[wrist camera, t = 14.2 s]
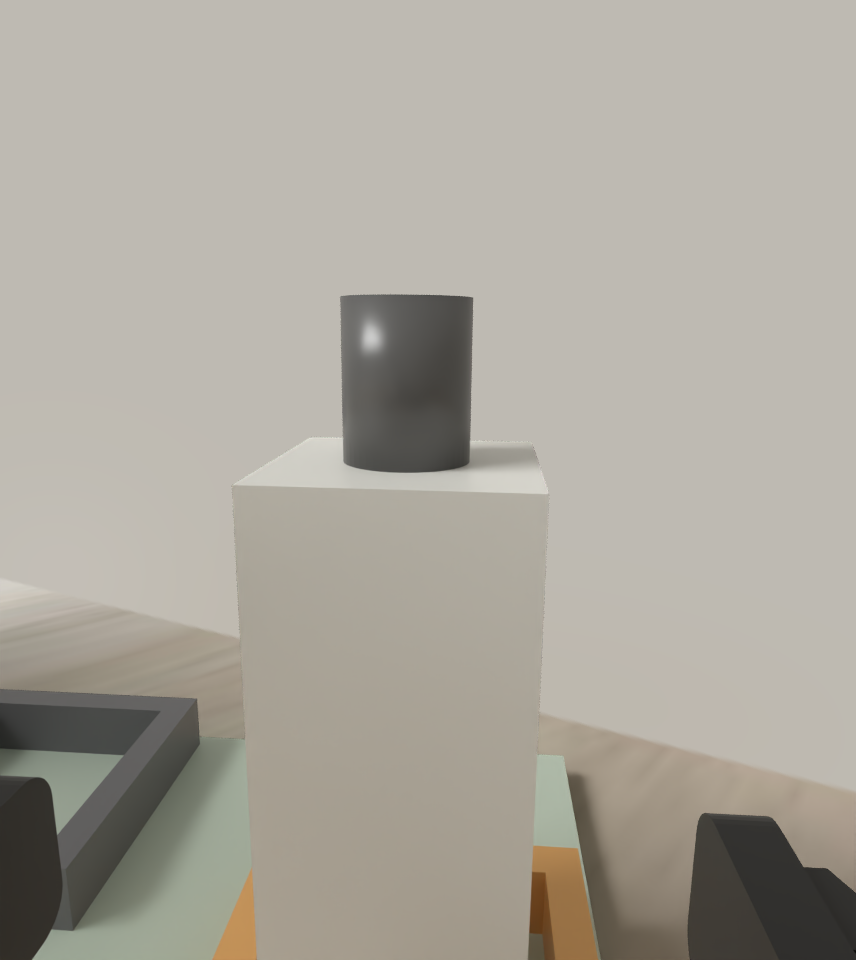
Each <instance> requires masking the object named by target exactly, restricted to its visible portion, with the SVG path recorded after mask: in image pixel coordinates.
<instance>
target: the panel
mask: <svg viewBox="0 0 856 960" xmlns="http://www.w3.org/2000/svg"><path fill="white" fill-rule="evenodd" d="M0 775H3V776H23V777H41V778H43V779H45V780H46V781H47V782H48V784H49V785H50V788H51V791H52V797H53V805H54V813H55V822H56V830H57V838H58V847H59V855H60V863H61V872H62V881H63V888H62V898H61V903H60V907H59V911H58V914H57V917H56V920H55V923H54V925H53V927H52V930H51V932H50V933H49V935H48V937H47V939H46V940H45V942H44V944H43V945H42V946H41V948H40V949H39V951H38V952H37V953H36V955H35V956H34V958H33V959H32V960H257V953H256V934H255V915H254V896H253V877H252V858H251V839H250V820H249V801H248V782H247V763H246V744H245V739H234V738H215V737H199V722H198V708H197V699H192V698H171V697H151V696H130V695H109V694H88V693H68V692H47V691H26V690H5V689H0ZM528 960H601V956H600V951H599V946H598V940H597V935H596V929H595V924H594V919H593V913H592V908H591V903H590V897H589V892H588V886H587V881H586V876H585V870H584V865H583V859H582V854H581V849H580V843H579V838H578V833H577V827H576V822H575V816H574V811H573V806H572V800H571V795H570V789H569V784H568V779H567V773H566V768H565V763H564V757H563V756H559V755H540V754H537V772H536V794H535V815H534V837H533V859H532V881H531V902H530V924H529V946H528Z"/></svg>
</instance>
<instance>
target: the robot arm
mask: <svg viewBox="0 0 856 960" xmlns="http://www.w3.org/2000/svg"><path fill="white" fill-rule="evenodd" d="M62 888H63V881H62V872H61V863H60V855H59V847H58V838H57V830H56V822H55V813H54V805H53V797H52V791H51V788H50V785H49V784H48V782H47V781H46V780H45V779H43V778H41V777H23V776H3V775H0V960H32V959H33V958H34V956H35V955H36V953H37V952H38V951H39V949H40V948H41V946H42V945H43V944H44V942H45V940H46V939H47V937H48V935H49V933H50V932H51V930H52V927H53V925H54V923H55V920H56V917H57V914H58V911H59V907H60V903H61V898H62ZM688 946H689V956H690V960H856V893H855V892H854V891H853V890H852V889H850V888H849V887H848V886H847V885H846V884H845V883H843V882H842V881H841V880H840V879H839V878H838V877H836V876H835V875H834V874H833V873H832V872H831V871H829V870H828V869H826V868H808V867H803V866H802V864H801V862H800V861H799V859H798V857H797V856H796V854H795V853H794V851H793V849H792V848H791V846H790V844H789V843H788V841H787V839H786V838H785V836H784V834H783V833H782V831H781V829H780V828H779V826H778V825H777V823H776V822H775V821H774V820H773V819H772V818H770V817H767V816H750V815H730V814H710V813H704V814H702V815H701V816H700V818H699V821H698V825H697V833H696V843H695V853H694V864H693V874H692V884H691V895H690V905H689V915H688Z"/></svg>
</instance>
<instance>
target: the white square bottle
mask: <svg viewBox="0 0 856 960" xmlns="http://www.w3.org/2000/svg"><path fill="white" fill-rule="evenodd" d="M340 302H341V356H342V357H341V358H342V407H343V408H342V413H343V438H328V437H311V438H309V439H307V440H305V441H304V442H302V443H300V444H299V445H297V446H295V447H294V448H292V449H290V450H289V451H287V452H286V453H284V454H282V455H281V456H279V457H277V458H276V459H274V460H272V461H271V462H269V463H267V464H266V465H264V466H262V467H261V468H259V469H257V470H256V471H254V472H253V473H251V474H249V475H248V476H246V477H244V478H243V479H241V480H239V481H238V482H236V483H235V484H233V485H232V497H233V516H234V535H235V553H236V573H237V591H238V610H239V630H240V649H241V668H242V687H243V706H244V725H245V744H246V763H247V782H248V801H249V820H250V839H251V858H252V877H253V896H254V915H255V934H256V953H257V960H528V946H529V924H530V902H531V881H532V859H533V837H534V815H535V794H536V772H537V750H538V729H539V707H540V684H541V664H542V642H543V619H544V599H545V597H544V596H545V576H546V555H547V532H548V511H549V492H548V489H547V486H546V483H545V480H544V477H543V474H542V471H541V468H540V465H539V462H538V459H537V456H536V453H535V450H534V447H533V444H532V442H510V441H507V442H506V441H470V421H471V419H470V418H471V371H472V327H473V326H472V325H473V298H472V297H463V296H442V295H349V296H341V297H340Z"/></svg>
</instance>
